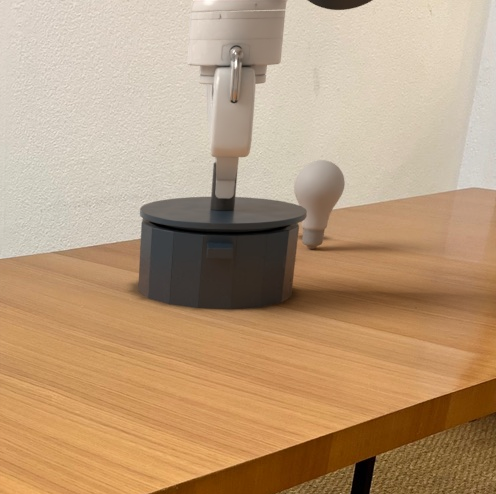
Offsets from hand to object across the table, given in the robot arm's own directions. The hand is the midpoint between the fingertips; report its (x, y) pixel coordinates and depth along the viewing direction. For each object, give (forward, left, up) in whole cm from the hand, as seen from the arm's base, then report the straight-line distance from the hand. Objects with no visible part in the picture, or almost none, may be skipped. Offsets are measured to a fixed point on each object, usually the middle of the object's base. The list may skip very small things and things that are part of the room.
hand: (223, 194), depth 106 cm
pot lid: (0, 0, -2) cm, 2 cm away
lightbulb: (-13, -31, -11) cm, 35 cm away
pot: (0, 0, -11) cm, 11 cm away
